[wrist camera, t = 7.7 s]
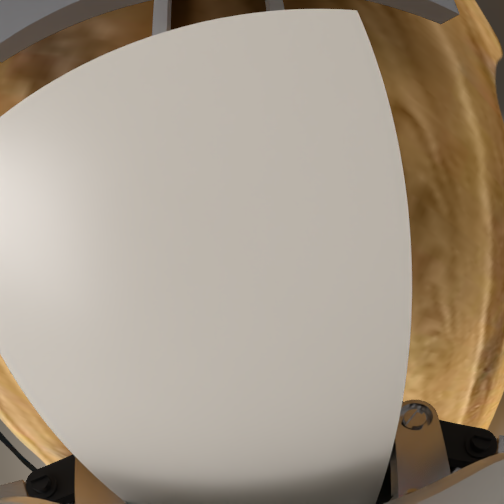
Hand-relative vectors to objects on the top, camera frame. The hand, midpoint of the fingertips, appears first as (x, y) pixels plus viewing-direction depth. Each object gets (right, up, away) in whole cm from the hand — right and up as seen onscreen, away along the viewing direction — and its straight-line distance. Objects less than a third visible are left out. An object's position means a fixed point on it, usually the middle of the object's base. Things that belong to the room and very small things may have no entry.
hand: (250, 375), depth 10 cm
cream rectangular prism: (0, 0, +1) cm, 1 cm away
